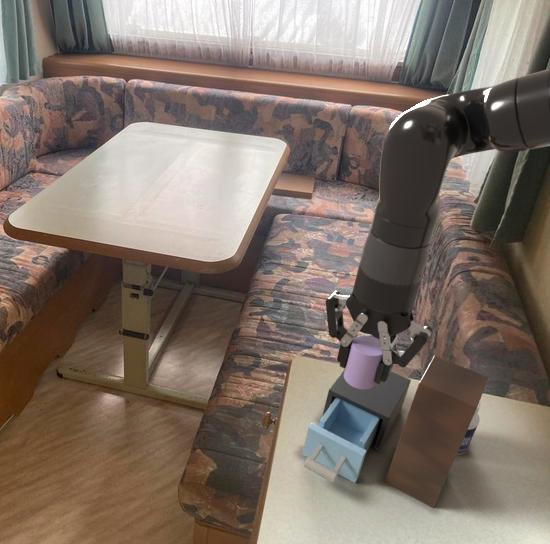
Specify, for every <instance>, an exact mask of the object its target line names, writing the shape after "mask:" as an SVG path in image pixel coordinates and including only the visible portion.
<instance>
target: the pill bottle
mask: <svg viewBox="0 0 550 544" xmlns="http://www.w3.org/2000/svg"><path fill="white" fill-rule="evenodd" d="M480 408H481V402H480V401H479V404H478V407H477V409H476V411H475V414H474V416H473V418H472V420H471V423H470V425H469V427H468V430H467V432H466V434H465V437H464V439H463V441H462V443H461V446H460V448H459V450H458V453H457V455H456V456H462V455H464V454H465V453H466V452H467V450H468V449H469V447H470V444H471V443H472V439H473V438H474V435H475V433H476V431H477V428H478V426H479V423H480V415H479V410H480Z"/></svg>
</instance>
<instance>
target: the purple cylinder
mask: <svg viewBox="0 0 550 544" xmlns="http://www.w3.org/2000/svg"><path fill="white" fill-rule="evenodd" d="M382 359H383V357H382V350H381V349H380V340H379V339H377V338H375V337H374V336H372V335H368V334H361V335H356V336H355V337H354V339H353V341H352V345H351V348H350V352H349V356H348V360H347V364H346V368H344V369H345V372H344V379H345V380H346V382H347V383H348V384H349V385H351V386H353V387H355V388H358V389H363V390H366V389H371V388H373V387H374V386H375V384H376V383H375V382H374V381H375V378H376V375H377V371H378V368H379V364H380V362H381V360H382Z"/></svg>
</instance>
